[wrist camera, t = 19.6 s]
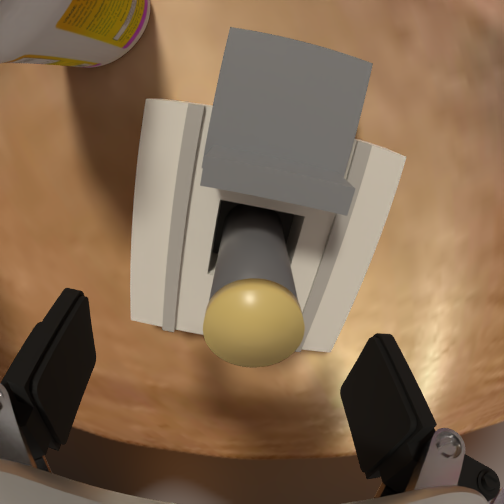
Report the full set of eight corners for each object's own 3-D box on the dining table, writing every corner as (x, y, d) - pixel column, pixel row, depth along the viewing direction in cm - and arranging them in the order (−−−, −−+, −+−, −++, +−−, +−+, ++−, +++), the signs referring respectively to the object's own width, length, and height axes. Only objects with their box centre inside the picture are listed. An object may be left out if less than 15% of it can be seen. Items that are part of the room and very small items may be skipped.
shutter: (203, 165, 16) (190, 183, 12) (231, 30, 12) (225, 9, 9) (334, 192, 16) (355, 217, 13) (367, 65, 13) (399, 57, 10)
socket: (142, 295, 23) (129, 322, 20) (161, 98, 17) (144, 98, 14) (323, 326, 24) (331, 355, 21) (385, 148, 18) (408, 157, 15)
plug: (219, 248, 21) (198, 359, 12) (229, 194, 19) (209, 281, 10) (274, 258, 21) (288, 372, 12) (288, 206, 20) (317, 300, 11)
